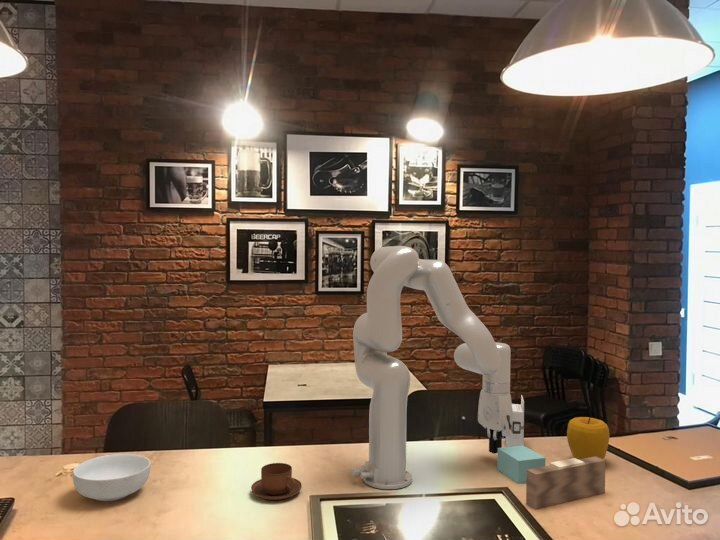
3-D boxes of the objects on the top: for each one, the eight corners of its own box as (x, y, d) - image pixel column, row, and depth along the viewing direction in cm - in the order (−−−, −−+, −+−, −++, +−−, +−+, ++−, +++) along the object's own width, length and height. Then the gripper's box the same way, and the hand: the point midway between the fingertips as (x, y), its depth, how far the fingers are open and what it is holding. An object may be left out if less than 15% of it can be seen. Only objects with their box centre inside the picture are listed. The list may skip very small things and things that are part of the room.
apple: (565, 466, 155) (566, 420, 154) (567, 454, 165) (568, 410, 164) (609, 472, 151) (610, 424, 150) (608, 459, 161) (609, 414, 160)
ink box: (505, 440, 177) (505, 393, 176) (521, 441, 176) (522, 394, 175) (506, 449, 168) (507, 400, 168) (523, 450, 167) (524, 401, 167)
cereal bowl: (73, 516, 123) (72, 484, 123) (72, 488, 138) (72, 459, 138) (155, 501, 131) (155, 471, 131) (146, 476, 146) (146, 449, 146)
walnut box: (535, 509, 128) (535, 471, 128) (525, 503, 131) (526, 467, 131) (605, 492, 138) (605, 457, 137) (594, 488, 140) (595, 453, 140)
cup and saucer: (309, 487, 140) (309, 463, 140) (287, 507, 128) (287, 481, 128) (266, 481, 144) (266, 457, 144) (241, 500, 132) (241, 474, 132)
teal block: (518, 484, 143) (518, 460, 143) (497, 470, 152) (497, 448, 152) (545, 480, 145) (545, 457, 145) (523, 467, 155) (523, 445, 155)
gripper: (469, 382, 163) (468, 445, 163) (503, 394, 150) (502, 463, 150) (490, 380, 166) (489, 442, 167) (525, 391, 153) (524, 459, 153)
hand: (495, 452), depth 158 cm, fingers closed
